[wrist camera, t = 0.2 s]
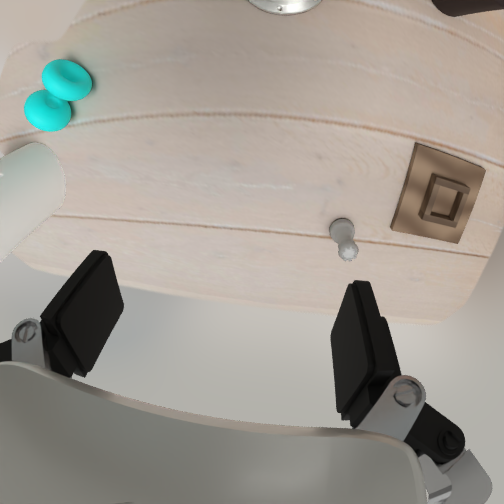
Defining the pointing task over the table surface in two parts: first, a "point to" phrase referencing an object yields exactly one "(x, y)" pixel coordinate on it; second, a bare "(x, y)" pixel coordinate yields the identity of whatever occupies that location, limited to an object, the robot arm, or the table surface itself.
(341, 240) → the rook chess piece
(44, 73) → the donuts
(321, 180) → the table surface
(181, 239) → the table surface
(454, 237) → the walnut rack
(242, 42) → the table surface
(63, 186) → the cylinder
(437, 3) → the bottle
